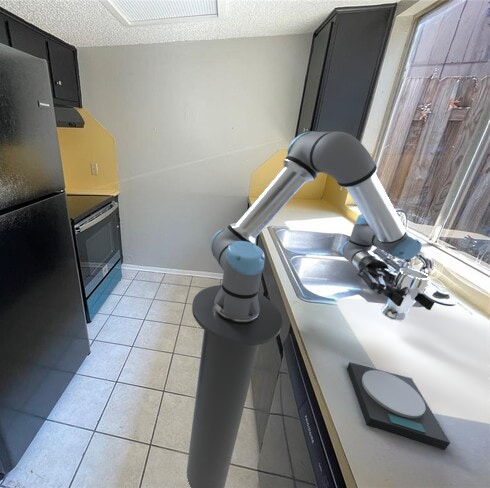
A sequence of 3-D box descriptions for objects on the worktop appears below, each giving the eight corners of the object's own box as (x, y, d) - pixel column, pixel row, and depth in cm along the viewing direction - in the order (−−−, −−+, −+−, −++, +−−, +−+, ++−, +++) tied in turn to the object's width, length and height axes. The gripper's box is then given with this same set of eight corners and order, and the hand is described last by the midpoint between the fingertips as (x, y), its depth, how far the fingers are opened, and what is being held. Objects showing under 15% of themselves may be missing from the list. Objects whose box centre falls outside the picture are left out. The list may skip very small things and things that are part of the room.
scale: (346, 368, 67) (350, 359, 65) (407, 385, 63) (413, 375, 62) (366, 425, 54) (371, 415, 52) (444, 450, 50) (452, 440, 49)
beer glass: (410, 326, 75) (433, 282, 69) (380, 317, 78) (400, 274, 72) (404, 313, 80) (426, 271, 74) (377, 305, 84) (396, 265, 77)
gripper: (396, 277, 92) (449, 319, 72) (337, 271, 95) (371, 309, 74) (404, 259, 89) (463, 297, 69) (343, 252, 92) (381, 288, 71)
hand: (415, 303), depth 71 cm, fingers closed on beer glass, 7 cm apart
